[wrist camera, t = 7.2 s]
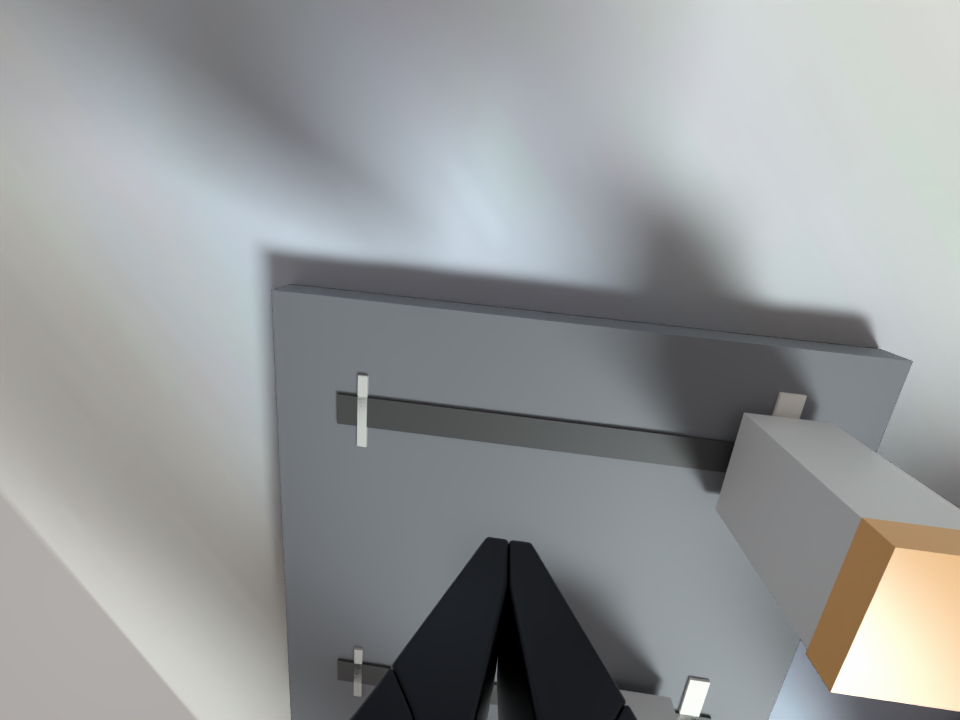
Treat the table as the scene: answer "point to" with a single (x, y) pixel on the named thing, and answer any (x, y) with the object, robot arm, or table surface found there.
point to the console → (537, 482)
